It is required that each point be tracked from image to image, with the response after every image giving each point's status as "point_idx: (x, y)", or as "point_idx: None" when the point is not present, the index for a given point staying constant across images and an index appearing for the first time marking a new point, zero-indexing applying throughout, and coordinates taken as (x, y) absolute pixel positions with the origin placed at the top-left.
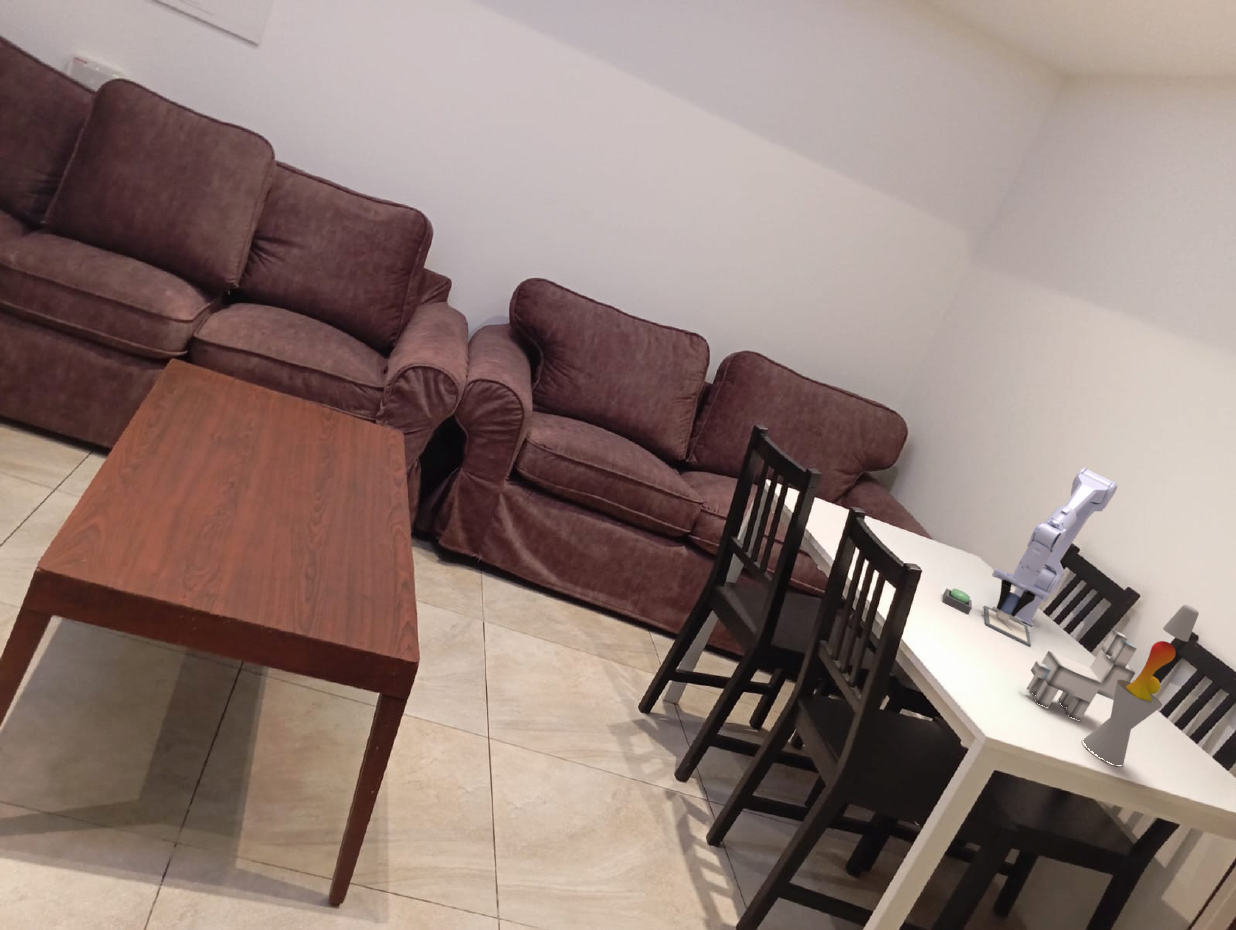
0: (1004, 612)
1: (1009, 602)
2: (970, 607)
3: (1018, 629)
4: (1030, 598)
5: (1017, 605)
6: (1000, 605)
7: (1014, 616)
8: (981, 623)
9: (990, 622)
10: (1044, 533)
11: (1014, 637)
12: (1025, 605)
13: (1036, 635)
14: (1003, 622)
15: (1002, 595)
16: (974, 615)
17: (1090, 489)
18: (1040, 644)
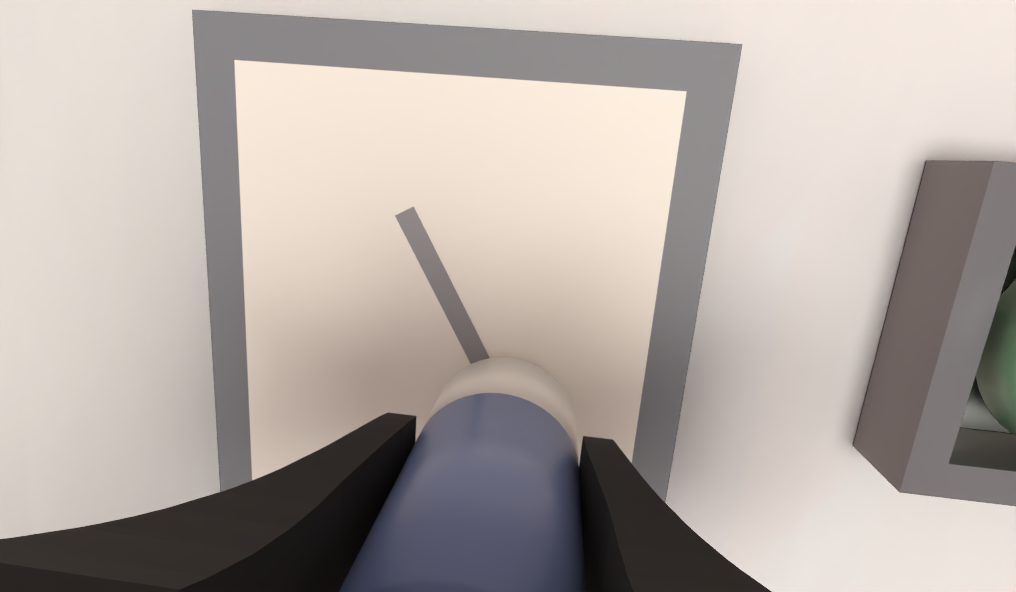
0: (520, 397)
1: (511, 490)
2: (1011, 163)
3: (320, 368)
4: (13, 568)
5: (355, 558)
6: (606, 454)
7: (381, 417)
8: (776, 52)
9: (670, 139)
10: None
11: (384, 24)
12: (213, 495)
13: (149, 511)
14: None
15: (696, 544)
16: (822, 247)
17: None
18: (109, 296)
